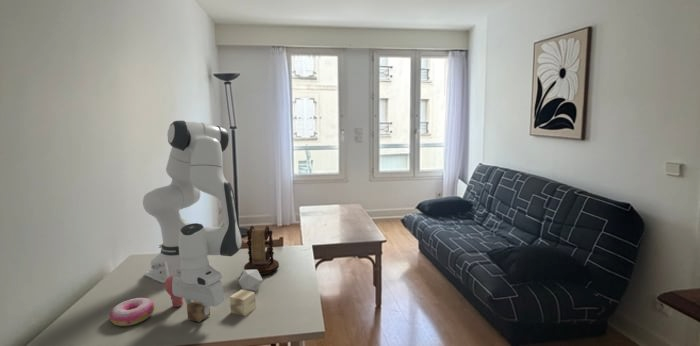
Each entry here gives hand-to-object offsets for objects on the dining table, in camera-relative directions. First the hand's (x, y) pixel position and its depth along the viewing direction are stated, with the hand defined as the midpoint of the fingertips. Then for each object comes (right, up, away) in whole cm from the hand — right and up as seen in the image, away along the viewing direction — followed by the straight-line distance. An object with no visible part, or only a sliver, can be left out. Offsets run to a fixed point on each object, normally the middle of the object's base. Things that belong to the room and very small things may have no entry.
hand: (198, 312), depth 136 cm
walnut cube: (0, -2, 0) cm, 2 cm away
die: (+13, +1, +21) cm, 24 cm away
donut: (-23, -3, +2) cm, 23 cm away
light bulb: (-11, -1, +9) cm, 14 cm away
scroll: (+13, +4, +39) cm, 42 cm away
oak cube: (+14, -1, +5) cm, 15 cm away
